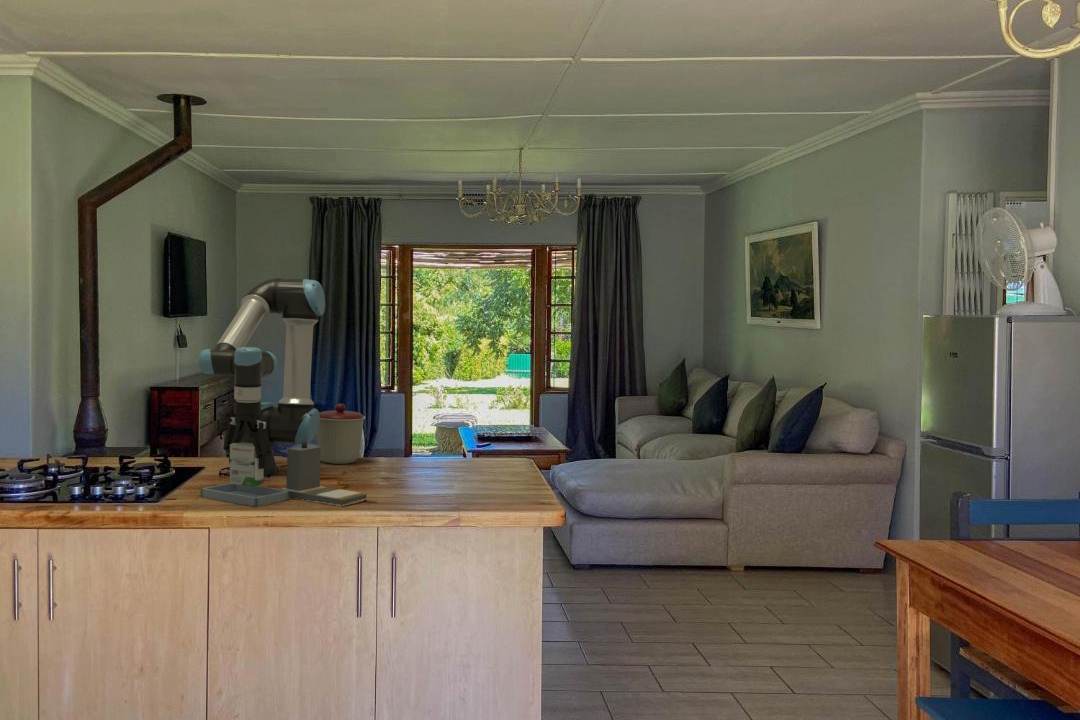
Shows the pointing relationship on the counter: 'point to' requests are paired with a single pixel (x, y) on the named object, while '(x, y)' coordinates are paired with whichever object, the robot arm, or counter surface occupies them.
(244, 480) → the ink box
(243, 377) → the robot arm
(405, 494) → the counter surface
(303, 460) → the dark grey tall block
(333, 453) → the canister
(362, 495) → the board with cream panels
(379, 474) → the counter surface
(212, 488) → the tray
